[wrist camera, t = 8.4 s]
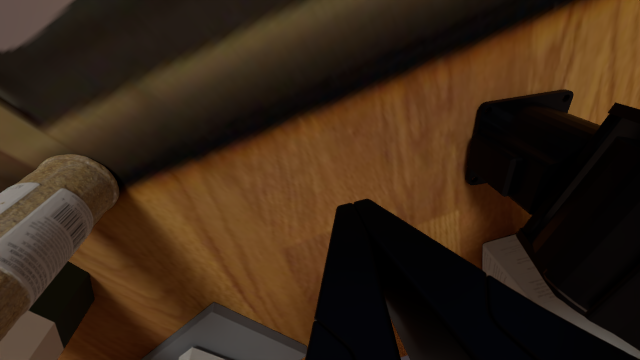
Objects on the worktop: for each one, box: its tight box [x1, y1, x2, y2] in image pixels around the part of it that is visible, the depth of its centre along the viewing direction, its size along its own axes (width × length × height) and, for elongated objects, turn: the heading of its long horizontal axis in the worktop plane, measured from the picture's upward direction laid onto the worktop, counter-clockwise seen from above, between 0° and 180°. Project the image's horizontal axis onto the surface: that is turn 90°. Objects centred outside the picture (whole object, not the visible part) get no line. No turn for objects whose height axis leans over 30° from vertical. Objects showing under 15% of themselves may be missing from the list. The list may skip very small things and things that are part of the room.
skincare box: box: [482, 234, 640, 359], centre depth 23 cm, size 8×6×15 cm
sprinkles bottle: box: [0, 154, 119, 341], centre depth 13 cm, size 5×5×13 cm
